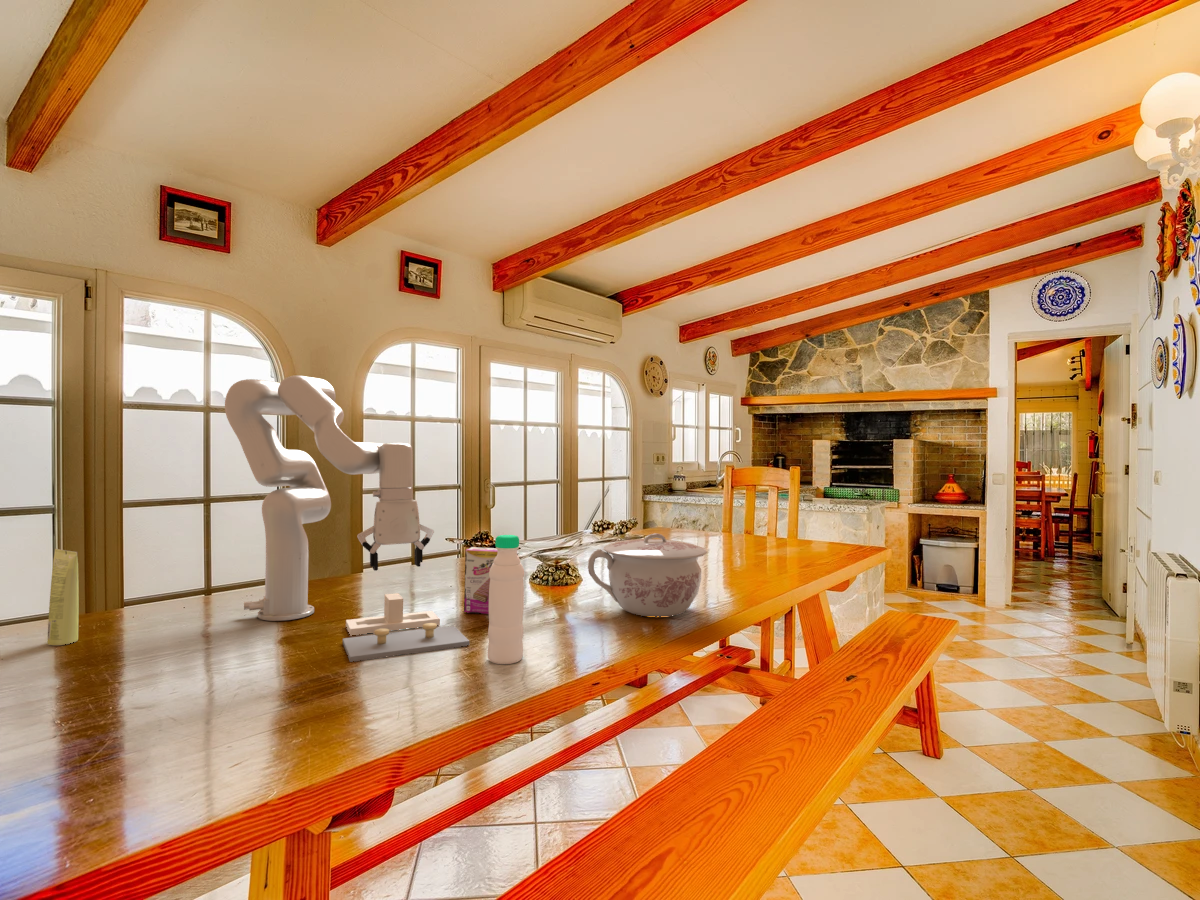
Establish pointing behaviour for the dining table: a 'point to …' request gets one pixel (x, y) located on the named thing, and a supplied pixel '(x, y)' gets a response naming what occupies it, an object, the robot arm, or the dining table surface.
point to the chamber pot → (651, 574)
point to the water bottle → (506, 603)
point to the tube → (64, 599)
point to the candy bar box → (478, 579)
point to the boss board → (403, 642)
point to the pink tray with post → (391, 618)
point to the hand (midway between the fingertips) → (396, 567)
